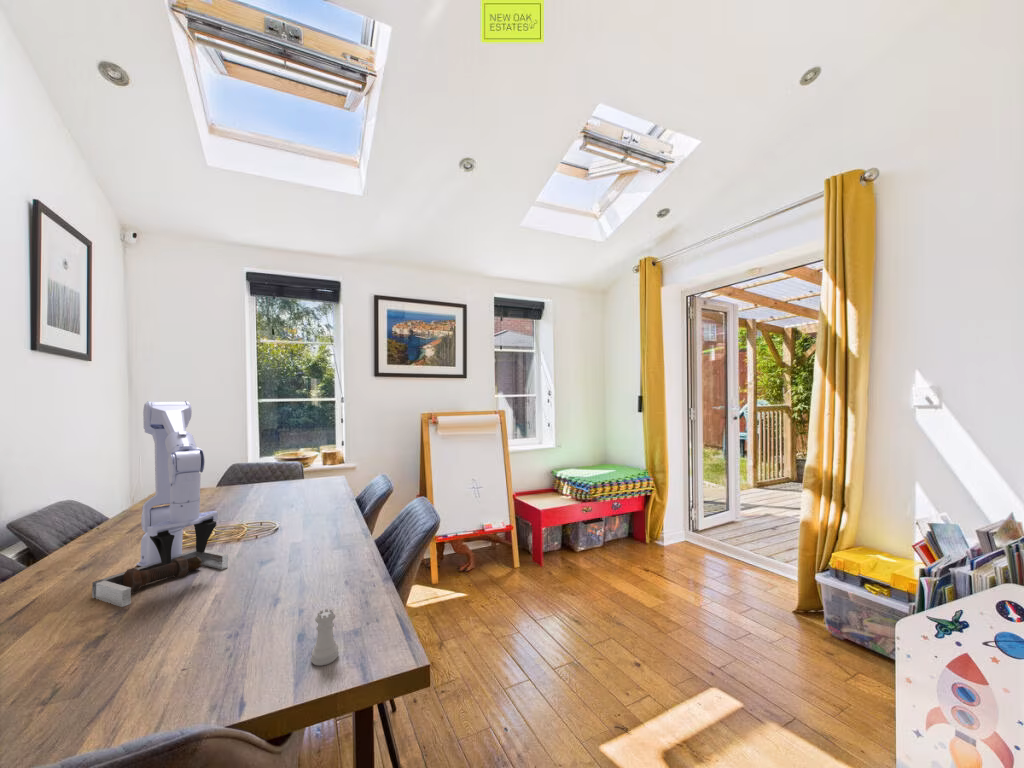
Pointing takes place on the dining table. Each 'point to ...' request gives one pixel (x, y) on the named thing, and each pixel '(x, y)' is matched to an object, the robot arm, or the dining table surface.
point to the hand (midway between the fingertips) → (183, 557)
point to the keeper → (121, 595)
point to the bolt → (159, 572)
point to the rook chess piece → (324, 640)
